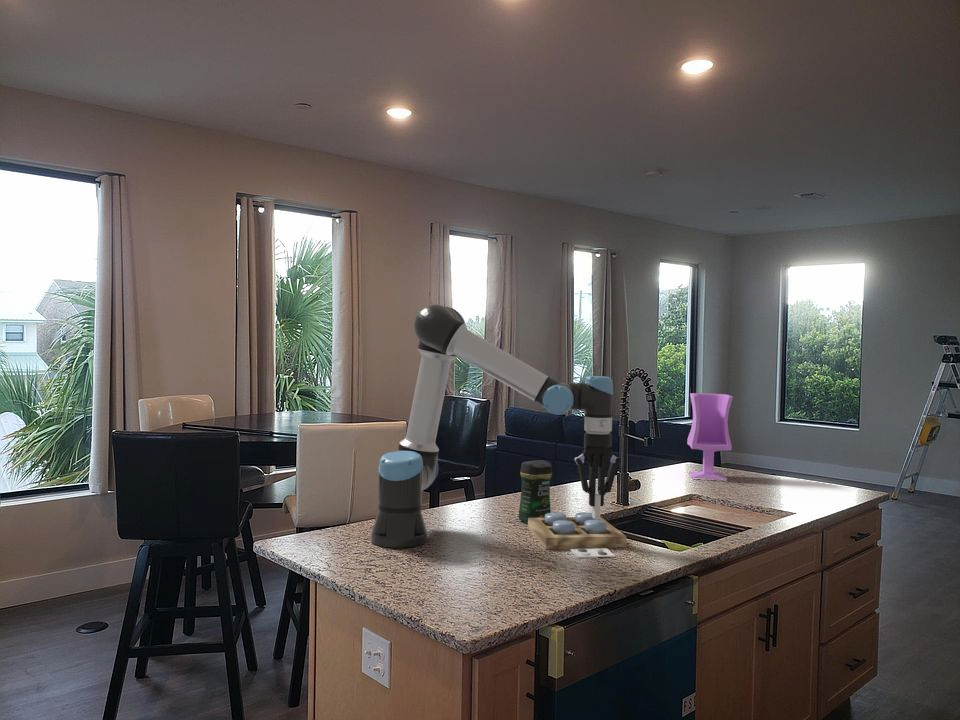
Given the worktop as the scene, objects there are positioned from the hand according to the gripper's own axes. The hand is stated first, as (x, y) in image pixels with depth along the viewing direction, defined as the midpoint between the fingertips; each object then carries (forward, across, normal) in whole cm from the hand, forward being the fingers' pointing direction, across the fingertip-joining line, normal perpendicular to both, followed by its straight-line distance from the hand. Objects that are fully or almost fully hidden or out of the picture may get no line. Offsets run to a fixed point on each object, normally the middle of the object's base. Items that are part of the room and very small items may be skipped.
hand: (596, 517), depth 197 cm
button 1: (+4, -9, +9) cm, 13 cm away
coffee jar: (+7, -12, +24) cm, 27 cm away
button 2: (+4, -9, 0) cm, 10 cm away
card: (+7, -5, -12) cm, 14 cm away
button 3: (+4, 0, +9) cm, 10 cm away
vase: (+7, +79, +92) cm, 122 cm away
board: (+7, -5, +4) cm, 9 cm away
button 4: (+4, 0, 0) cm, 4 cm away
